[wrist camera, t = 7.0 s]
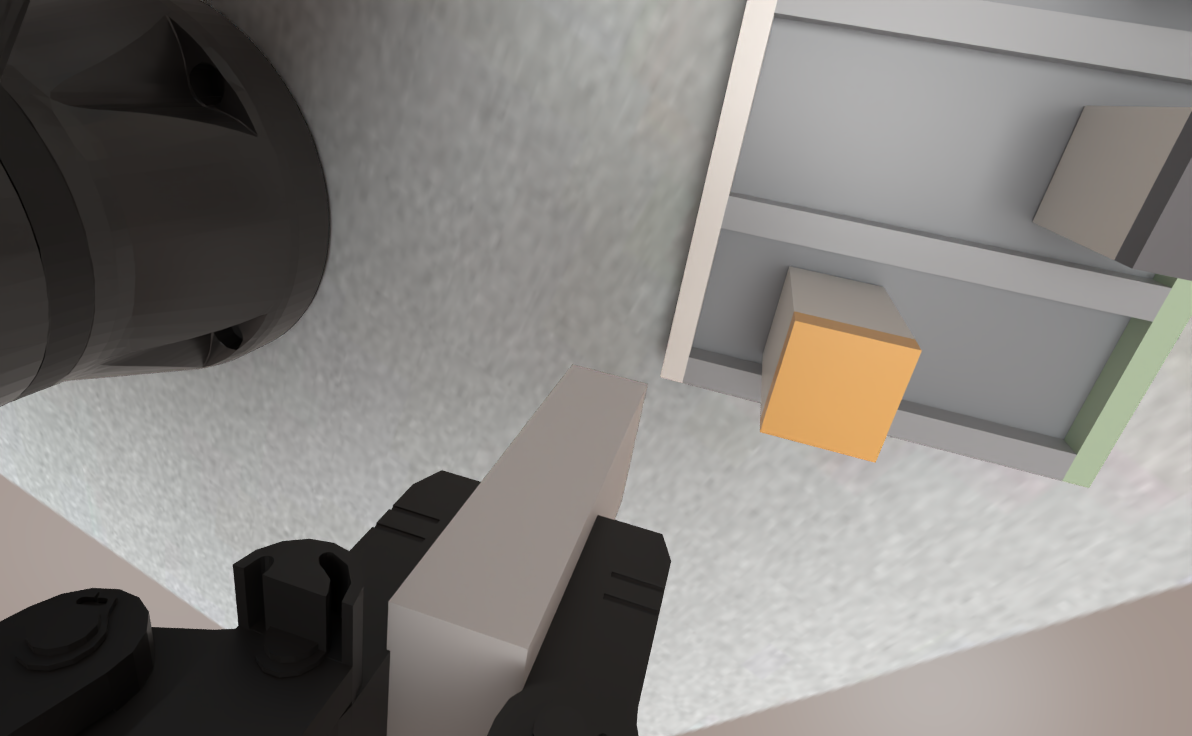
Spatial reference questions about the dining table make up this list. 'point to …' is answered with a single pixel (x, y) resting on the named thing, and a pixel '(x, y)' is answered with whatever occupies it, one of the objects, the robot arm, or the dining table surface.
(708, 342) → the breaker board
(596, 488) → the robot arm
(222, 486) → the dining table surface
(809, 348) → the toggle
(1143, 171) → the toggle mid
